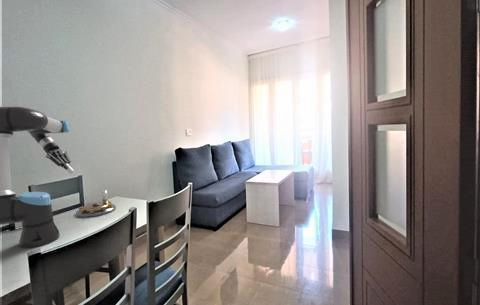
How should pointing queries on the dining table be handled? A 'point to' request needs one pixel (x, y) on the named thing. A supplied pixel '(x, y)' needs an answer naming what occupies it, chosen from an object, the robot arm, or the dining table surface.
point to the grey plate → (87, 215)
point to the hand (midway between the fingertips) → (72, 172)
